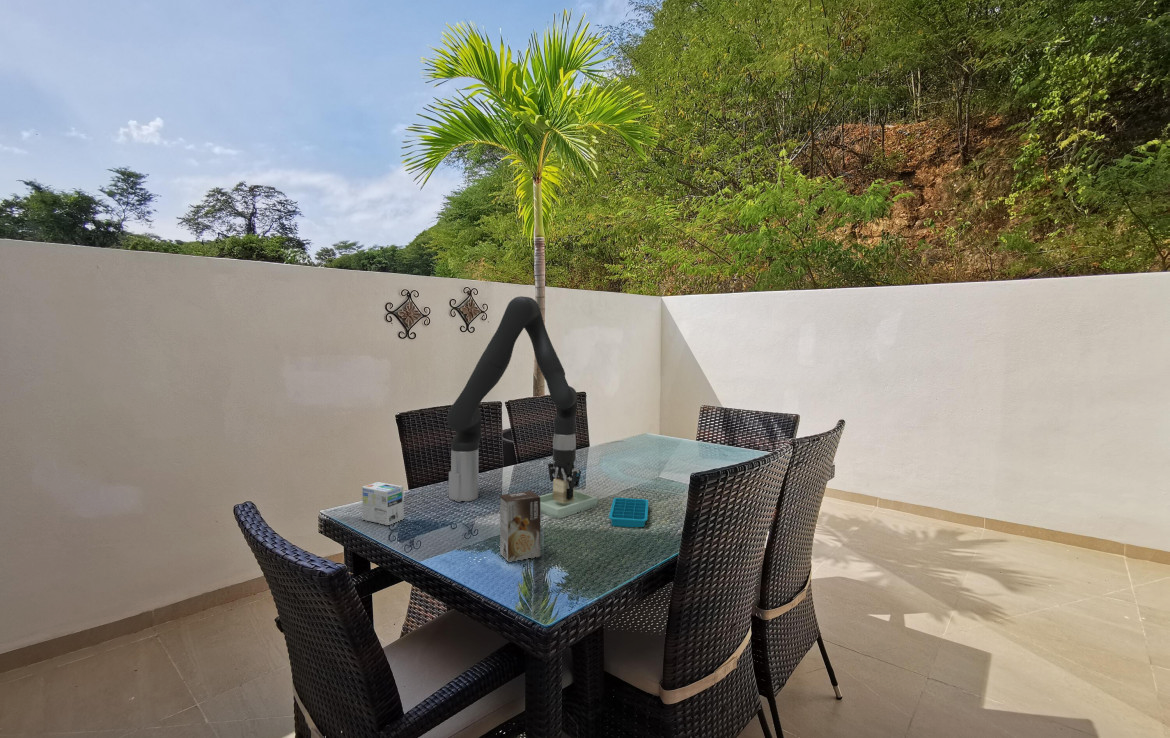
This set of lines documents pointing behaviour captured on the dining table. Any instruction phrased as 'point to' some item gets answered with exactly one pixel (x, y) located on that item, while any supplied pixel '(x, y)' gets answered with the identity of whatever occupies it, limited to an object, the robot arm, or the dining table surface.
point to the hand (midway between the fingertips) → (563, 496)
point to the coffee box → (520, 526)
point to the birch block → (560, 490)
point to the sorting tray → (566, 505)
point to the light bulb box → (383, 503)
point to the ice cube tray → (629, 512)
